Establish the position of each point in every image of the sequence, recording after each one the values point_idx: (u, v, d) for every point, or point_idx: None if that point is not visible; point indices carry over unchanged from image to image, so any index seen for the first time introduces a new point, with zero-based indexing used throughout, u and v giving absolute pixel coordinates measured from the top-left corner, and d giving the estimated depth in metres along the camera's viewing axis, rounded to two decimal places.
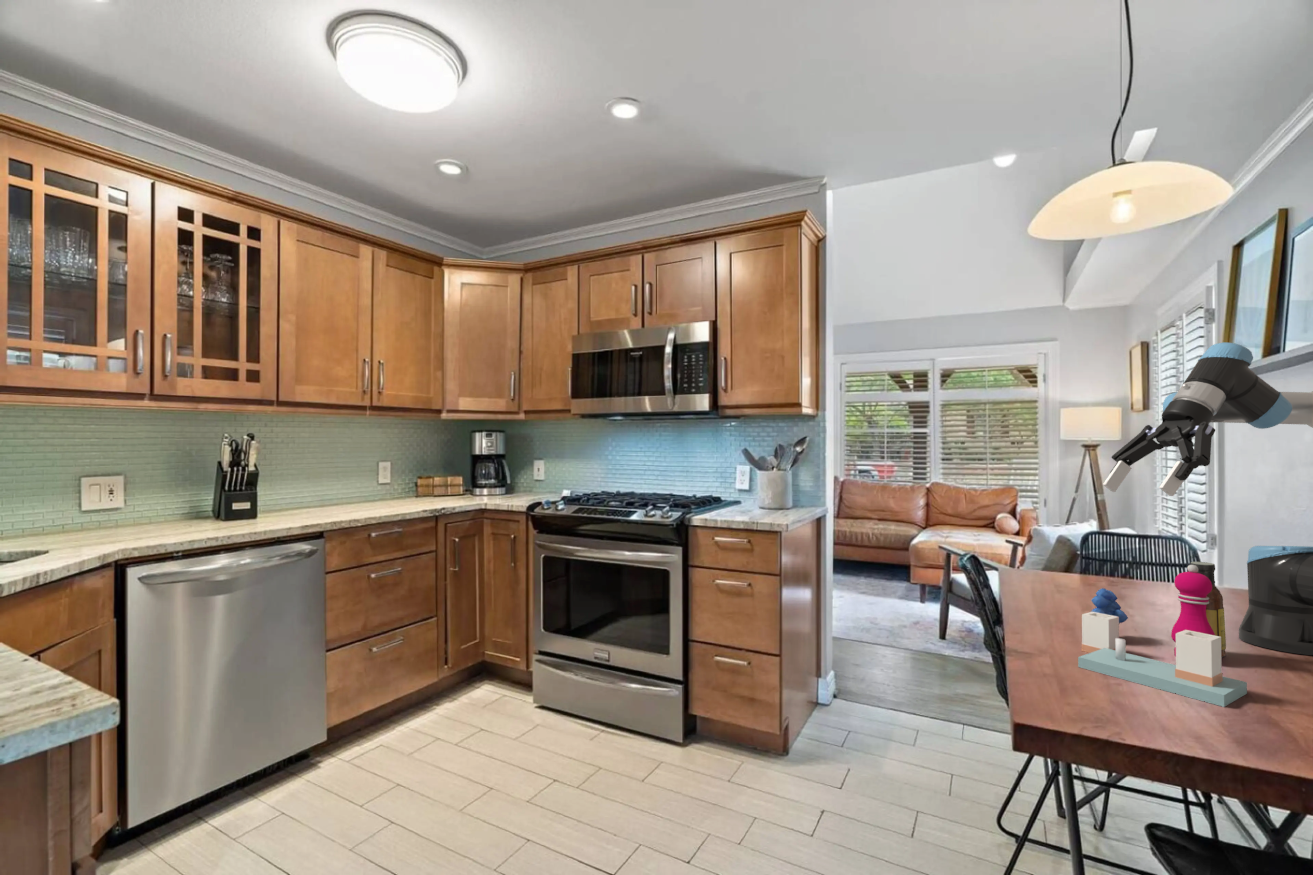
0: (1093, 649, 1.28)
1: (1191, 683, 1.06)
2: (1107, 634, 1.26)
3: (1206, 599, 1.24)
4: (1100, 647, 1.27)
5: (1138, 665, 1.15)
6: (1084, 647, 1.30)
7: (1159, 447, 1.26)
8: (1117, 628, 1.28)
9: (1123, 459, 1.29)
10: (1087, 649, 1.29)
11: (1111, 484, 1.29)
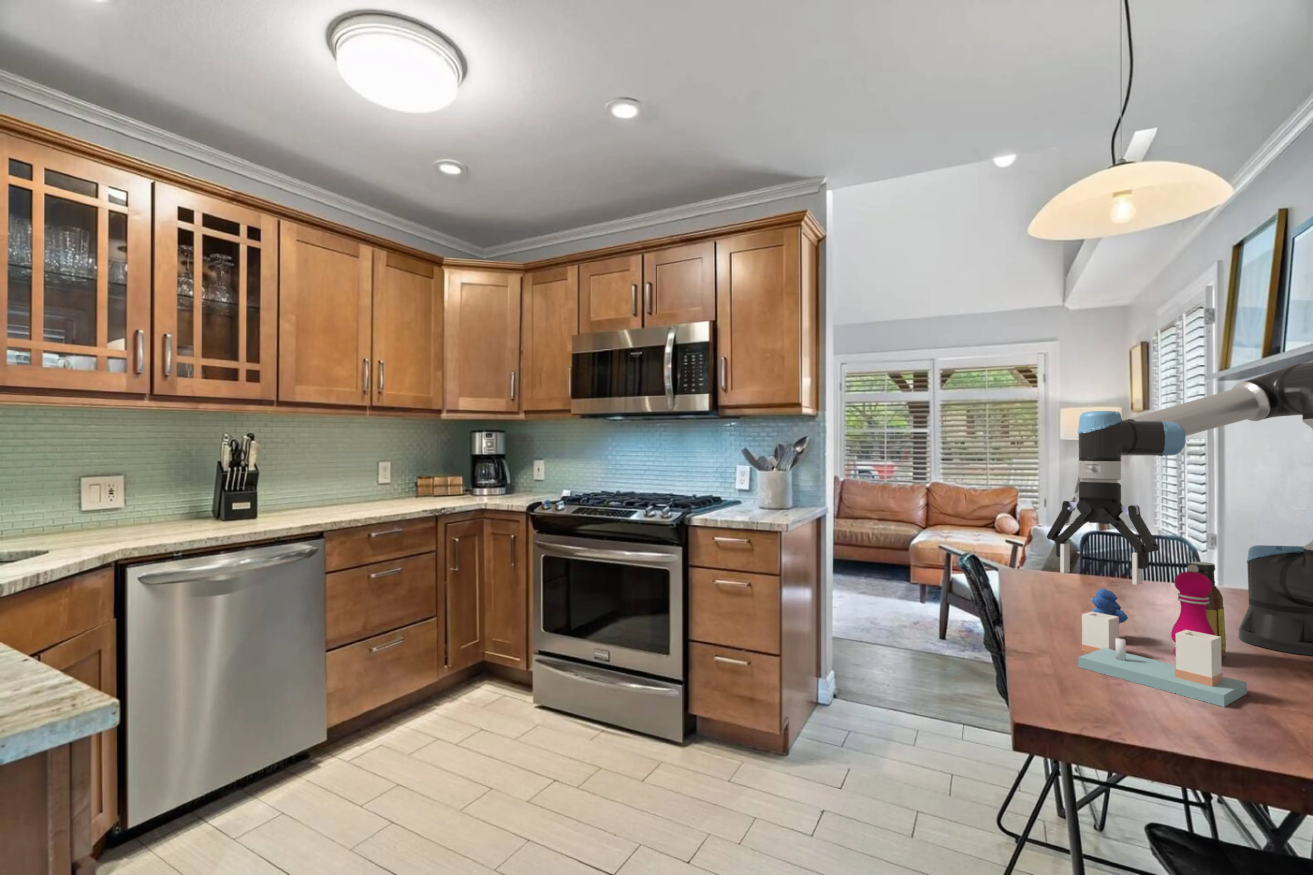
0: (1093, 649, 1.28)
1: (1191, 683, 1.06)
2: (1107, 634, 1.26)
3: (1206, 599, 1.24)
4: (1100, 647, 1.27)
5: (1138, 665, 1.15)
6: (1084, 647, 1.30)
7: (1086, 521, 1.33)
8: (1117, 628, 1.28)
9: (1062, 540, 1.35)
10: (1087, 649, 1.29)
11: (1066, 569, 1.35)
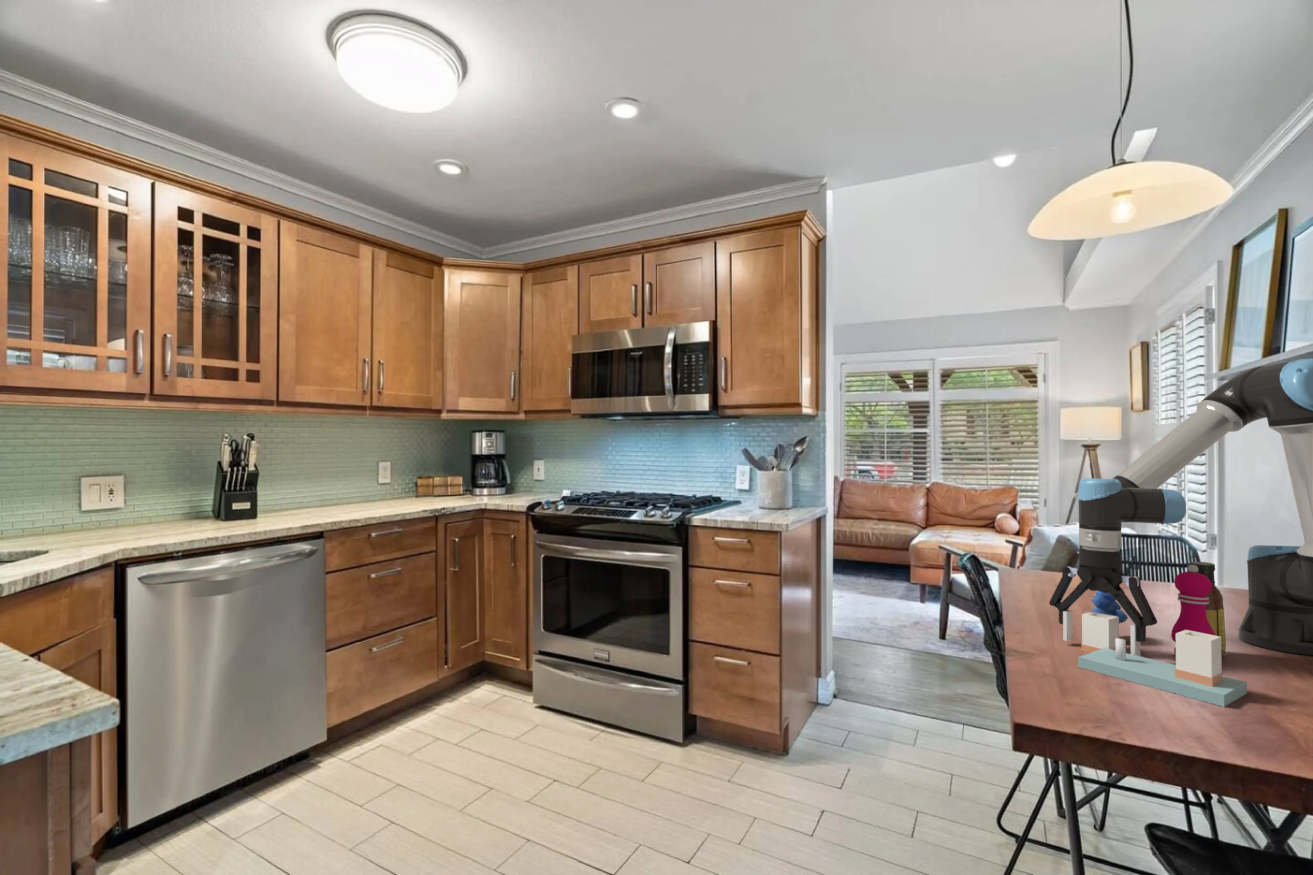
0: (1093, 649, 1.28)
1: (1191, 683, 1.06)
2: (1107, 634, 1.26)
3: (1206, 599, 1.24)
4: (1100, 647, 1.27)
5: (1138, 665, 1.15)
6: (1084, 647, 1.30)
7: (1088, 588, 1.33)
8: (1117, 628, 1.28)
9: (1065, 608, 1.35)
10: (1087, 649, 1.29)
11: (1069, 636, 1.34)
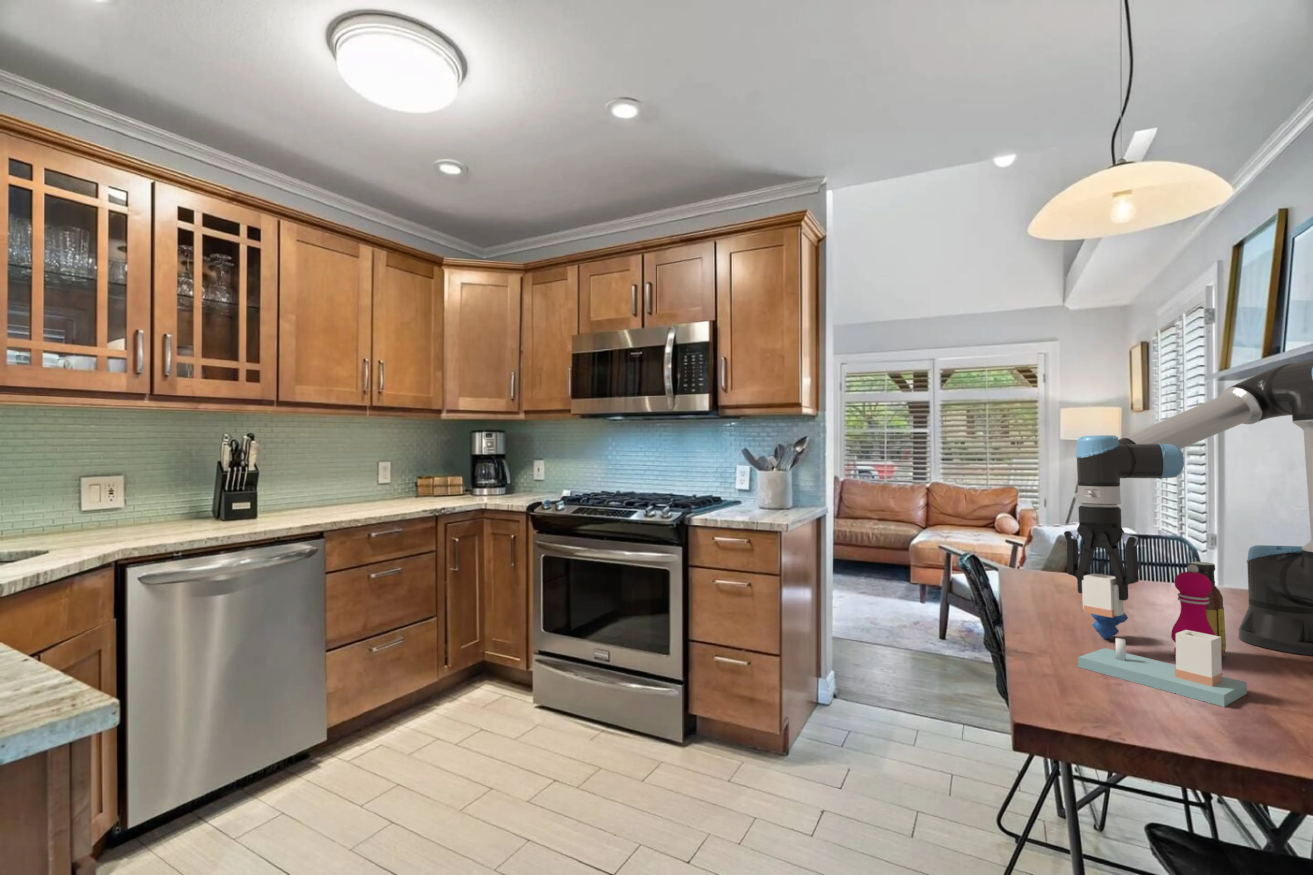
0: (1096, 609, 1.28)
1: (1191, 683, 1.06)
2: (1109, 594, 1.26)
3: (1206, 599, 1.24)
4: (1102, 607, 1.27)
5: (1138, 665, 1.15)
6: (1086, 608, 1.30)
7: (1095, 548, 1.32)
8: None
9: (1083, 576, 1.32)
10: (1090, 610, 1.29)
11: None
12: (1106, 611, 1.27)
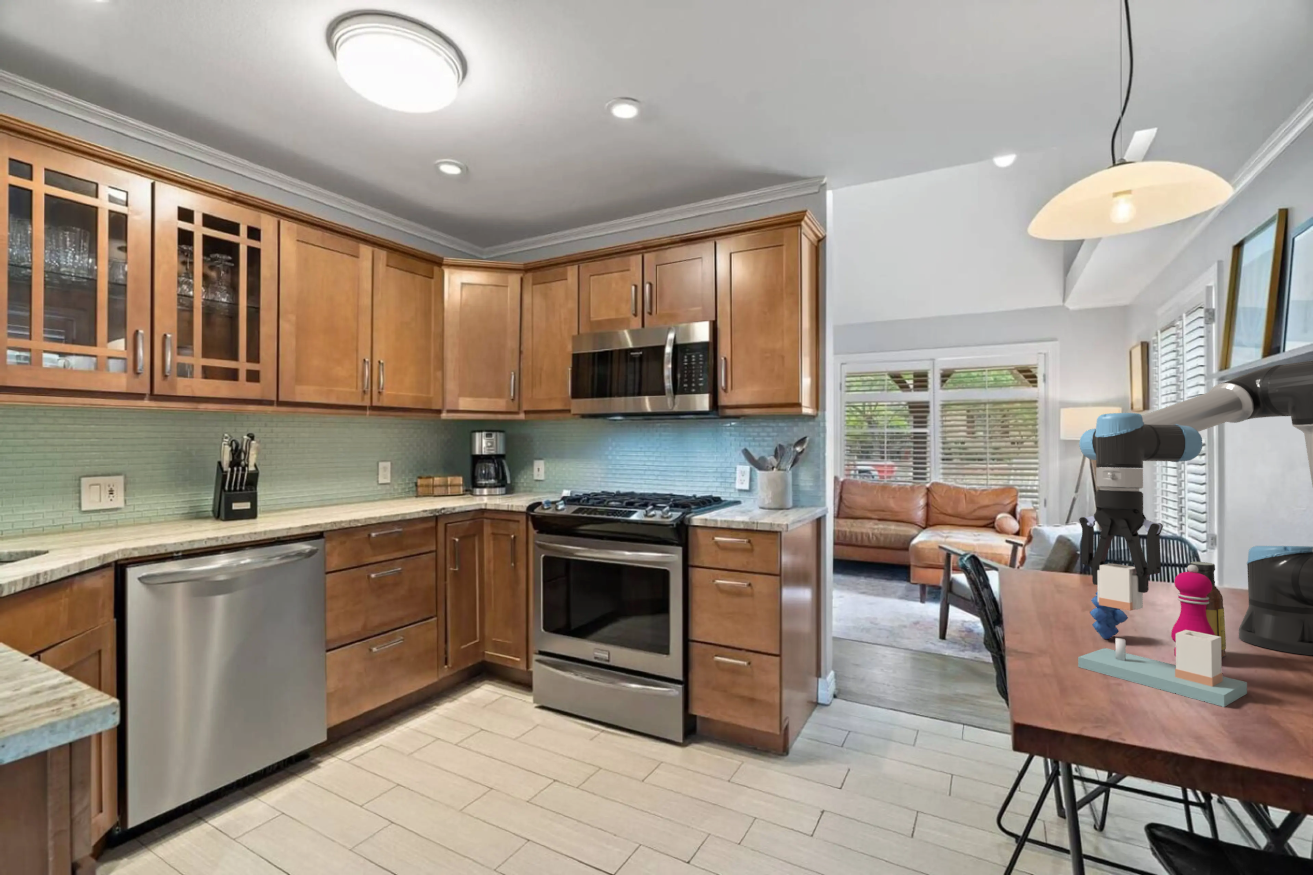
0: (1112, 602, 1.18)
1: (1191, 683, 1.06)
2: (1128, 585, 1.16)
3: (1206, 599, 1.24)
4: (1120, 600, 1.17)
5: (1138, 665, 1.15)
6: (1101, 600, 1.19)
7: (1113, 536, 1.21)
8: None
9: (1099, 566, 1.21)
10: (1105, 603, 1.19)
11: None
12: (1124, 604, 1.16)
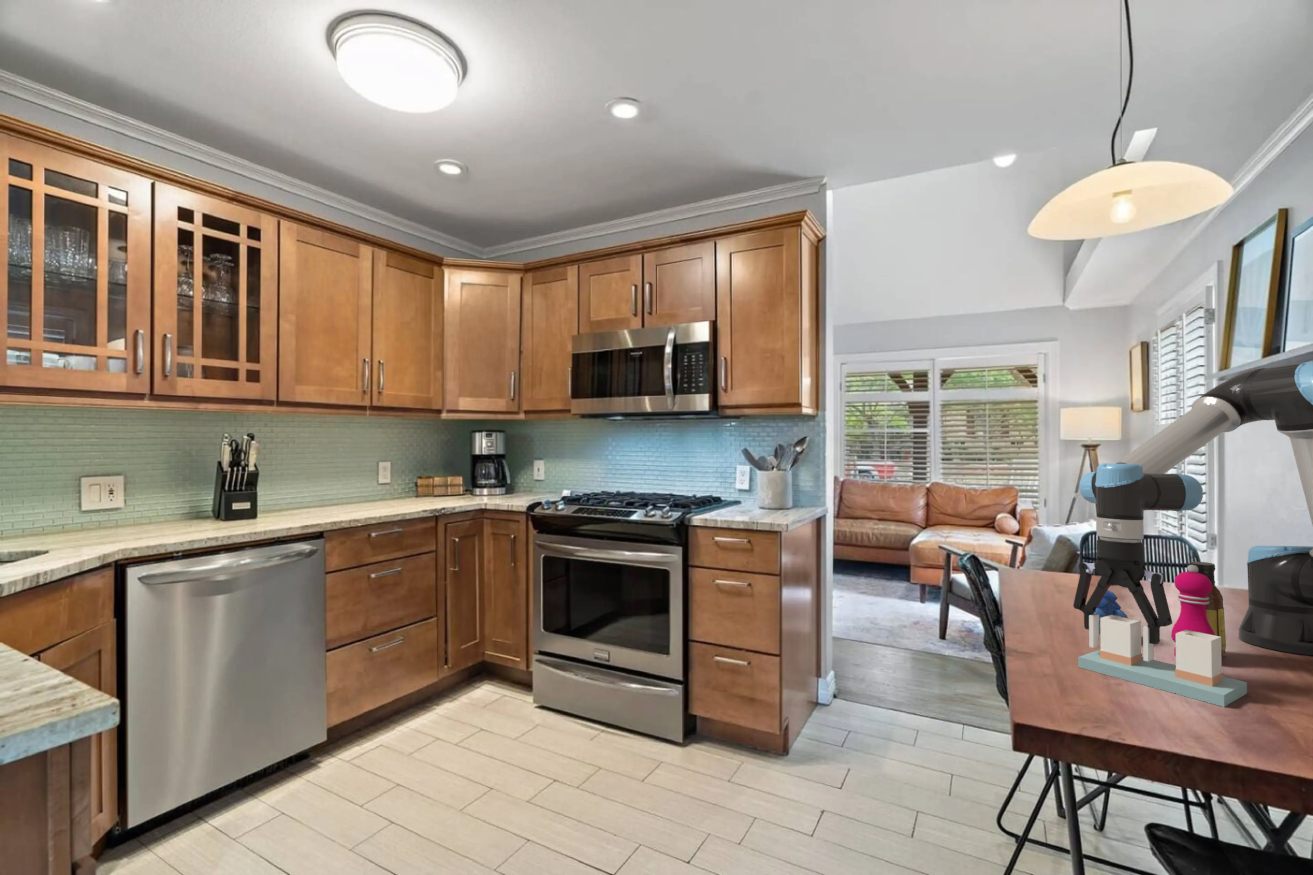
0: (1113, 655, 1.18)
1: (1191, 683, 1.06)
2: (1129, 640, 1.16)
3: (1206, 599, 1.24)
4: (1121, 654, 1.17)
5: (1138, 665, 1.15)
6: (1102, 653, 1.19)
7: (1110, 584, 1.22)
8: (1139, 633, 1.18)
9: (1091, 611, 1.22)
10: (1106, 656, 1.19)
11: (1095, 643, 1.22)
12: (1125, 658, 1.16)
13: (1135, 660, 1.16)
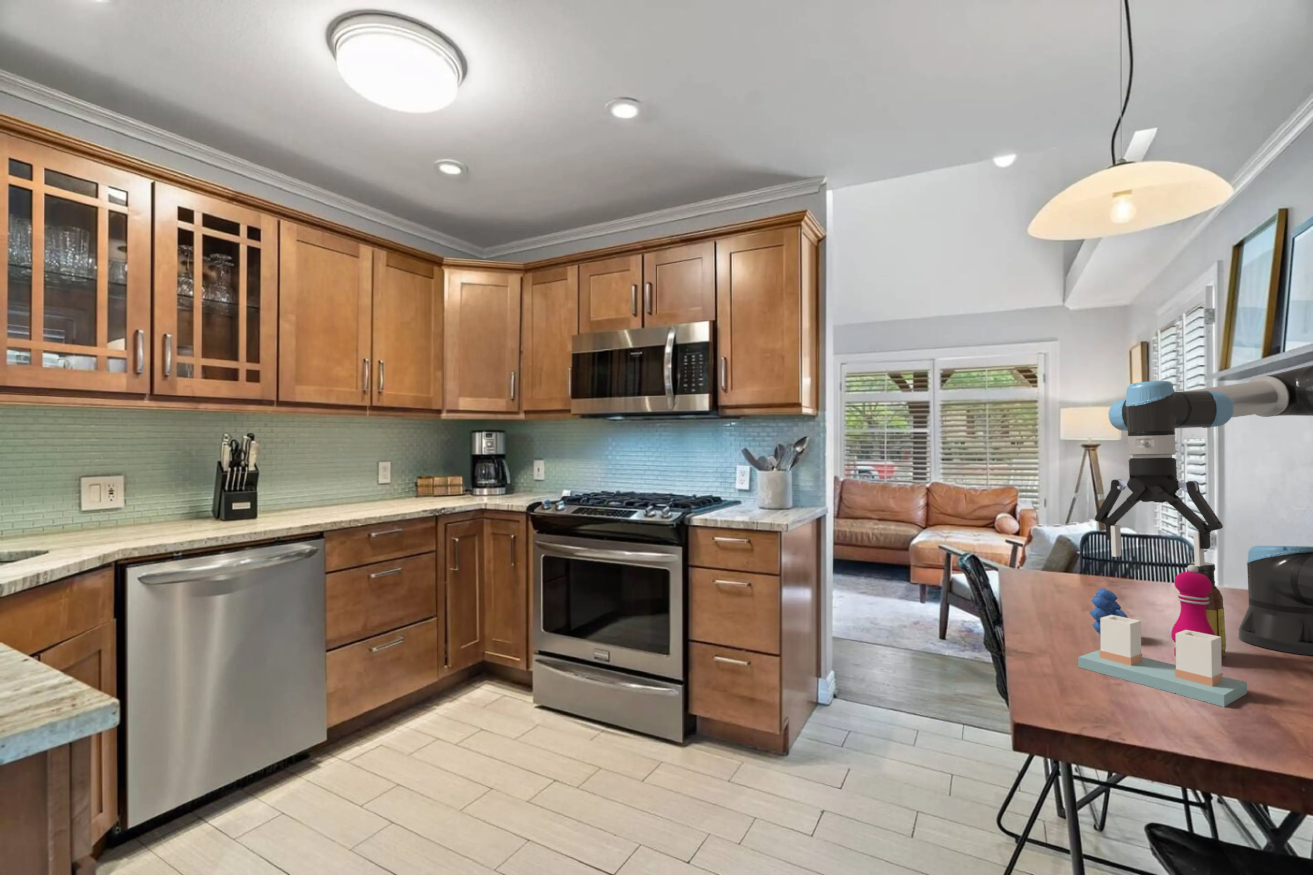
0: (1113, 655, 1.18)
1: (1191, 683, 1.06)
2: (1129, 640, 1.16)
3: (1206, 599, 1.24)
4: (1121, 654, 1.17)
5: (1138, 665, 1.15)
6: (1102, 653, 1.19)
7: (1138, 500, 1.24)
8: (1139, 633, 1.18)
9: (1112, 522, 1.27)
10: (1106, 656, 1.19)
11: (1118, 552, 1.26)
12: (1125, 658, 1.16)
13: (1135, 660, 1.16)
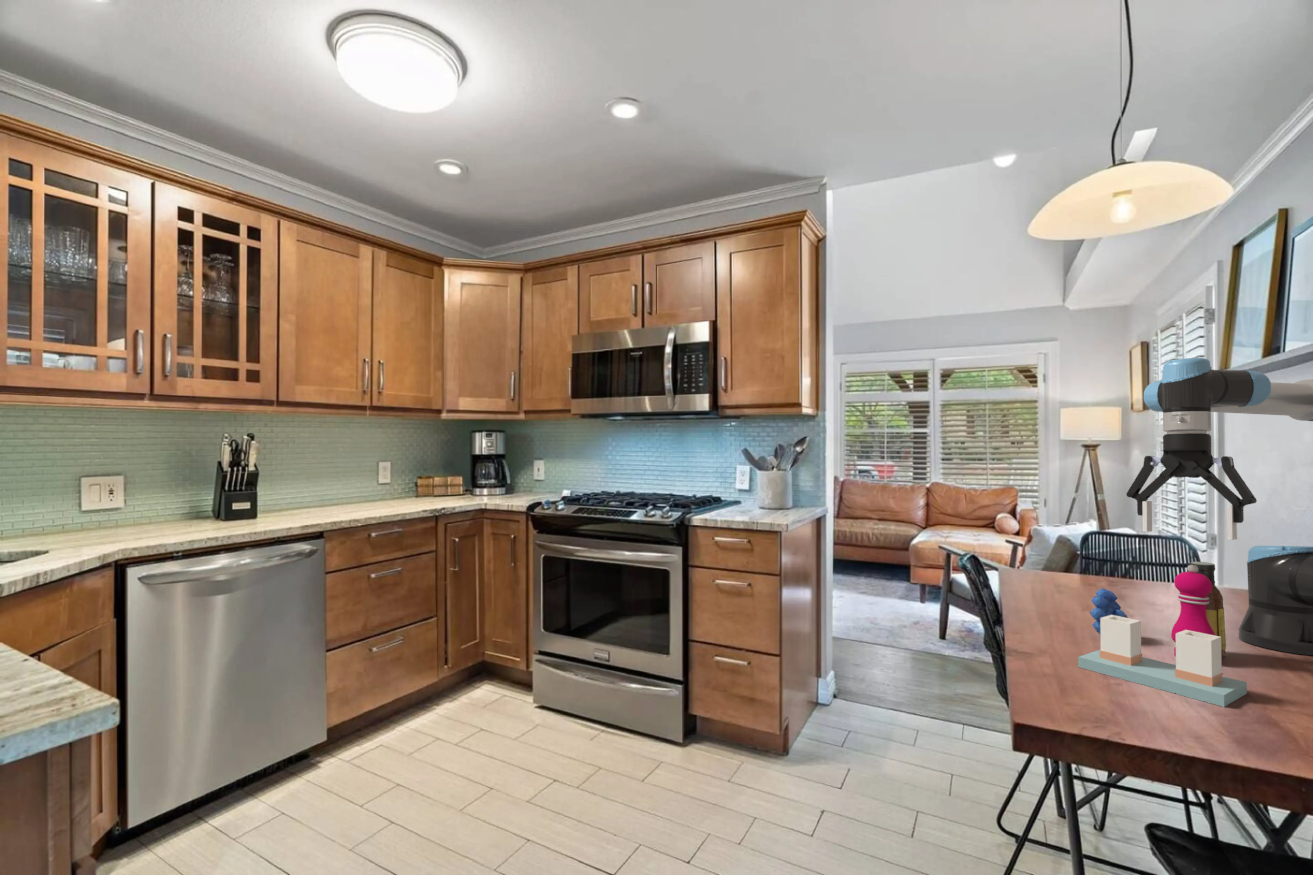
0: (1113, 655, 1.18)
1: (1191, 683, 1.06)
2: (1129, 640, 1.16)
3: (1206, 599, 1.24)
4: (1121, 654, 1.17)
5: (1138, 665, 1.15)
6: (1102, 653, 1.19)
7: (1171, 476, 1.26)
8: (1139, 633, 1.18)
9: (1144, 498, 1.28)
10: (1106, 656, 1.19)
11: (1149, 527, 1.28)
12: (1125, 658, 1.16)
13: (1135, 660, 1.16)
